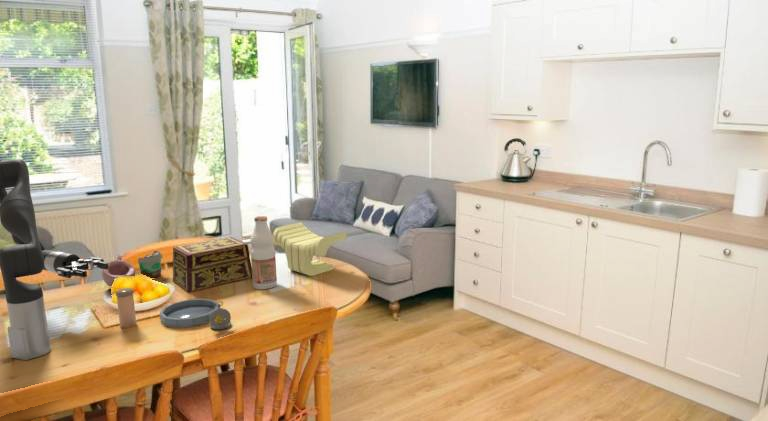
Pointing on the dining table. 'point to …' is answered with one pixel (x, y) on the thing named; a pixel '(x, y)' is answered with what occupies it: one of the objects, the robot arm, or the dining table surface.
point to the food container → (151, 265)
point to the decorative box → (211, 264)
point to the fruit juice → (263, 255)
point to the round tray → (187, 313)
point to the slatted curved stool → (304, 248)
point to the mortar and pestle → (117, 271)
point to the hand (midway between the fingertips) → (96, 270)
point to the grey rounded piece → (220, 318)
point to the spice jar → (126, 307)
